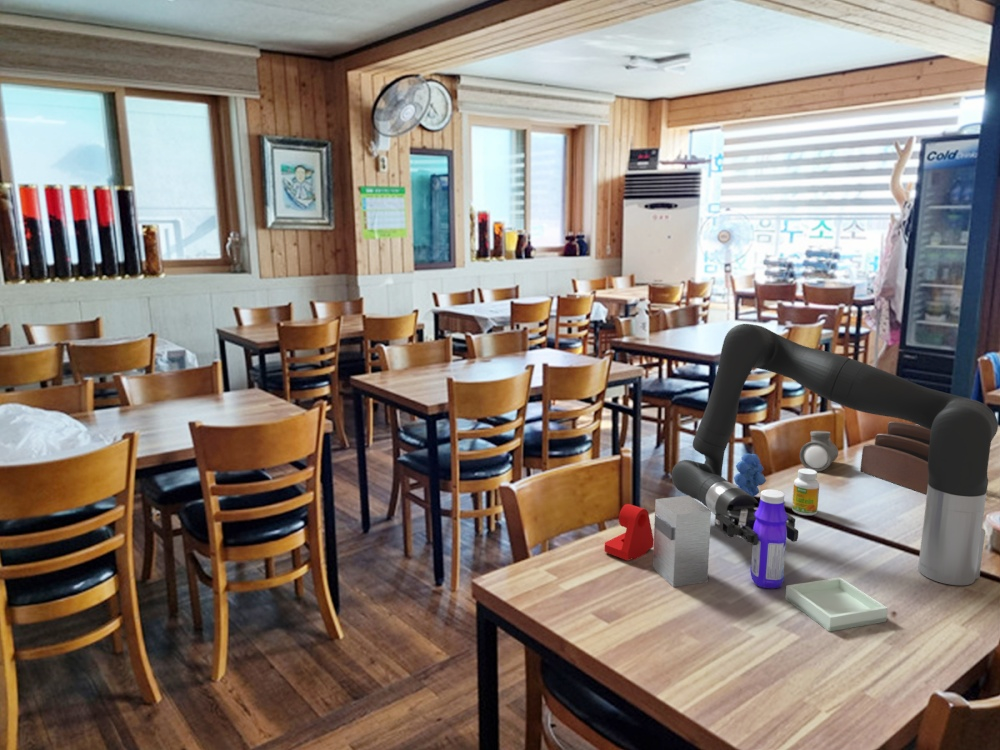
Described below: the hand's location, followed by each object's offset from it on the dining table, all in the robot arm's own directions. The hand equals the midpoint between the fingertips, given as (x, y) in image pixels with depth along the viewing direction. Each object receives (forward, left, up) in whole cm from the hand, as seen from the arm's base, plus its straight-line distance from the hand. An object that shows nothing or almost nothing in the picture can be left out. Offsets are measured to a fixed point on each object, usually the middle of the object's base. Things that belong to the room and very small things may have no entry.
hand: (776, 538), depth 132 cm
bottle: (0, -2, -10) cm, 10 cm away
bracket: (+19, -21, -10) cm, 30 cm away
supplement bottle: (-29, -29, -10) cm, 42 cm away
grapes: (-21, -38, -10) cm, 45 cm away
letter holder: (-68, -40, -10) cm, 79 cm away
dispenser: (+14, -9, -10) cm, 19 cm away
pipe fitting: (-55, -55, -10) cm, 78 cm away
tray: (-5, +10, -10) cm, 15 cm away
